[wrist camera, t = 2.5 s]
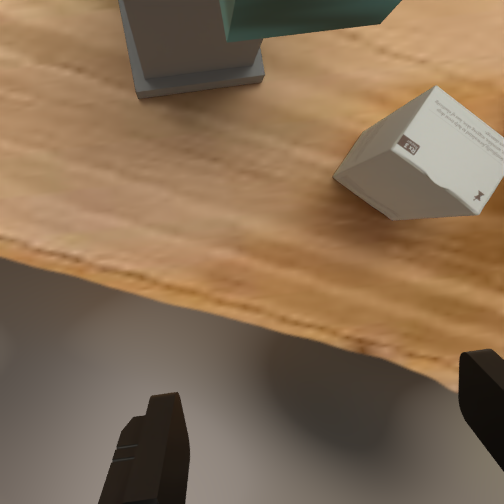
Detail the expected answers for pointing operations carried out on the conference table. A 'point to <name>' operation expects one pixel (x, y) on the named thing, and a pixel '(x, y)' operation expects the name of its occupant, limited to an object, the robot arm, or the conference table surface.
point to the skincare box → (426, 161)
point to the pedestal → (185, 48)
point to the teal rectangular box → (298, 16)
